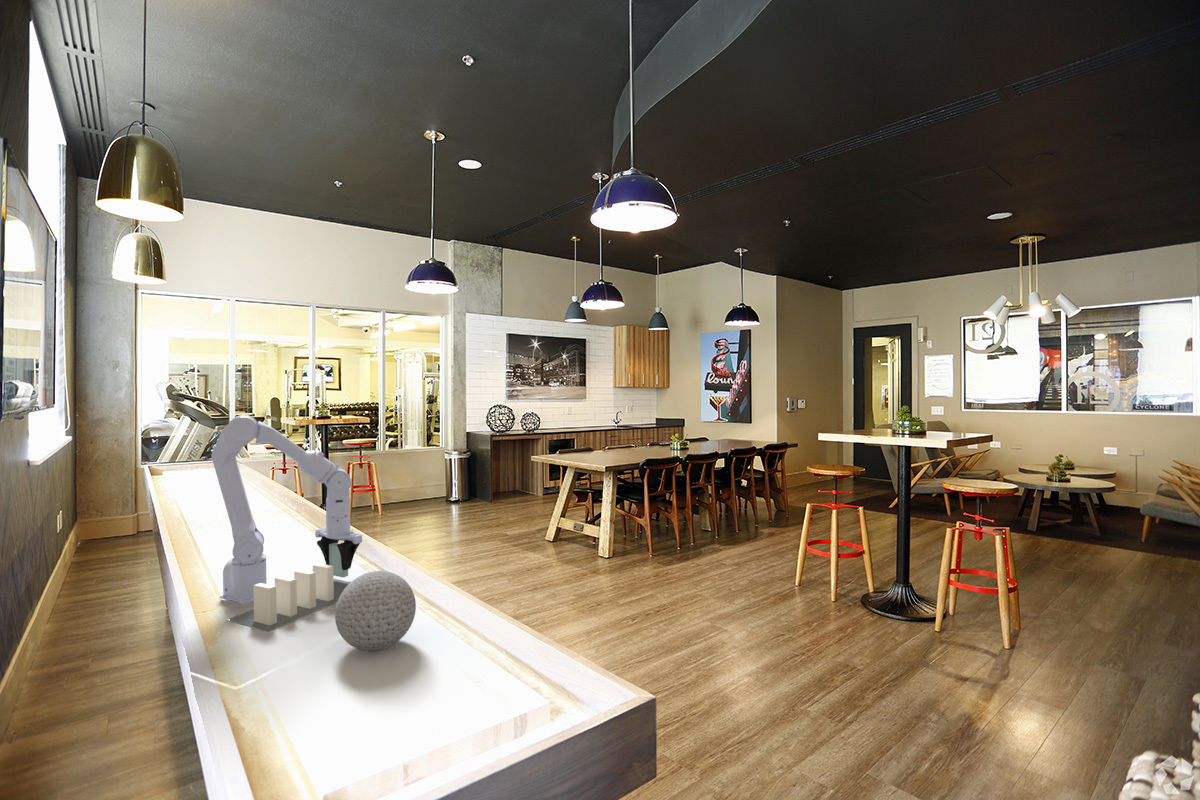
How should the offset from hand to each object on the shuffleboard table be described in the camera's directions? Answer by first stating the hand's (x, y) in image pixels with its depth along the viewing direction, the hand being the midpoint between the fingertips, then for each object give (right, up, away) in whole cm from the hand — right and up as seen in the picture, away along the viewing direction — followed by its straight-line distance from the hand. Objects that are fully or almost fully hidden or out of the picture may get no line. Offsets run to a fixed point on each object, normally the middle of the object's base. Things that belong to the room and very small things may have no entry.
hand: (338, 567), depth 153 cm
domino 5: (0, -2, 0) cm, 2 cm away
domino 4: (+1, -4, -11) cm, 12 cm away
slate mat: (-2, -5, -14) cm, 15 cm away
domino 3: (-1, -4, -16) cm, 17 cm away
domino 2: (-3, -5, -20) cm, 21 cm away
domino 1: (-5, -5, -25) cm, 26 cm away
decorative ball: (+23, -6, -36) cm, 43 cm away
